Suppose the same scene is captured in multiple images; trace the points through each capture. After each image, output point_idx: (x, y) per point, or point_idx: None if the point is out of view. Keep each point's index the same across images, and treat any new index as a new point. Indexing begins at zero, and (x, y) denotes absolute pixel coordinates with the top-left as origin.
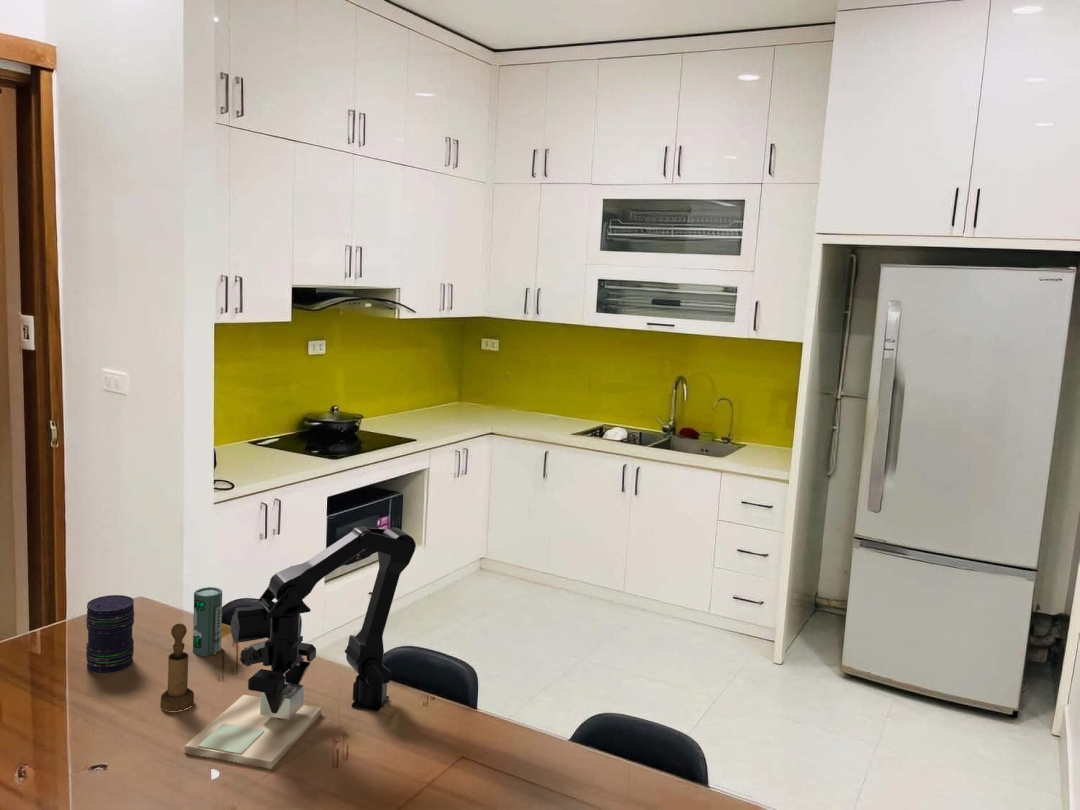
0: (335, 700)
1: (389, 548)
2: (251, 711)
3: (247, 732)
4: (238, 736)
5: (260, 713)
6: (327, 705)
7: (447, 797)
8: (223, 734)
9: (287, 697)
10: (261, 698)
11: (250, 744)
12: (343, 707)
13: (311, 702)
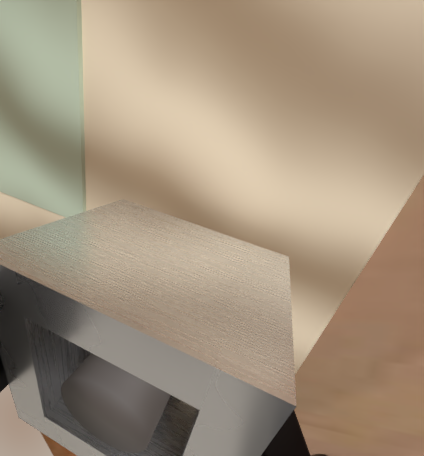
0: (396, 434)
1: None
2: (234, 118)
3: (53, 162)
4: (21, 134)
5: (117, 202)
6: (352, 404)
7: (55, 451)
8: (6, 54)
9: (25, 411)
10: (24, 238)
11: (7, 193)
12: (329, 437)
13: (393, 363)
